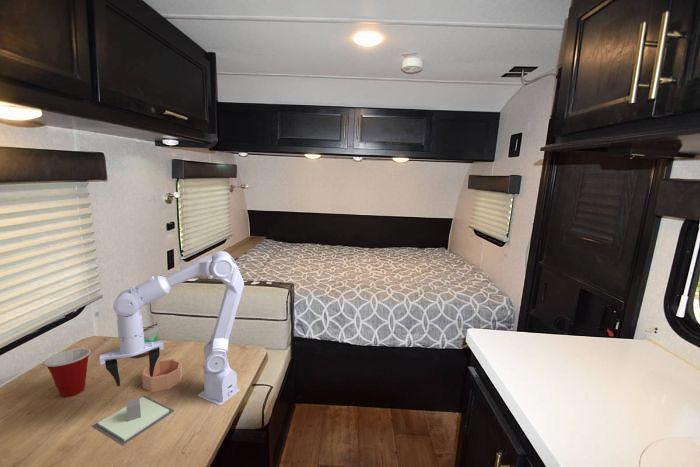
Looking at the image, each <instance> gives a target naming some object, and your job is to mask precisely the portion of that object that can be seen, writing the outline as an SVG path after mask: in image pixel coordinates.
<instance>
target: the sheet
mask: <svg viewBox="0 0 700 467" xmlns="http://www.w3.org/2000/svg"><path fill="white" fill-rule="evenodd" d="M141 397H142V398H141ZM141 397H138V398H135V399H131V400H127V401H126V405H125V406H126V407H125V406H123V407H121V410H120V409H119V411H118V410H117V411H115V412H114V414H113V413H112V415H111V414H110V415H108V416H106V417H107V418H106V417H104V418H105V419H104V418H102V419H101V420H100V422H99V421H98V425H99V426H100V427H102V428H104V429H105V430H107V431H109V432H110V433H112V434H114V435H115V436H117V437H118V438H120V439H122V440H123V441H126V440H127V439H129V438H130V437H132V436H133V435H135V434H136V433H138V432H139V431H141V430H142V429H144V428H145V427H147V426H148V425H150V424H151V423H153V422H154V421H156V420H157V419H159V418H160V417H162V416H163V415H165V414H167V413H168V412H169V410H168V409H166V408H164V407H162V406H160V405H158V404H156V403H154V402H152V401H150V400H148V399H146V398H144V397H143V396H141Z"/></svg>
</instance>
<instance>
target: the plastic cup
mask: <svg viewBox="0 0 700 467" xmlns="http://www.w3.org/2000/svg"><path fill="white" fill-rule="evenodd" d="M91 352H92V351H91V349H90V348H84V347H82V348H74V349H69V350H65V351H63V352H60V353H57V354H54V355H52V356H50V357H48V358H47V359H46V360H44V362H43V365H44V366H46V367H47V369H48V371H49V373H50V374H51V377H52V379H53V382H54V385H55V387H56V388H57V390H58V394H59V395H60V396H61V397H62V398H69V397H73V396H77V395H78V394H80V393H82V392H83V391H84V390H85V388H86V379H87V372H88V363H89V357H90V354H91Z"/></svg>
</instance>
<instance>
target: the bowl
mask: <svg viewBox="0 0 700 467" xmlns="http://www.w3.org/2000/svg"><path fill="white" fill-rule="evenodd" d="M183 374H184V373H183V362H182V361H180V360H178V359H176V358H167V359H166V358H165V359H160V360H159V359H158V360H157V362H156V364H155V368H154V372H153V376H152V377H150V372H149V364H148V365H146V366H145V367H144V368H143V372H142V373H141V379H142V380H141V382H142V388H143V389H145V390H147V391H148V392H153V393H154V392H159V391H165V390H169V389H171V388H173V387H174V386H177V385H178V384H180V383H181V382H182V378H183Z"/></svg>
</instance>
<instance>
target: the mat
mask: <svg viewBox="0 0 700 467" xmlns="http://www.w3.org/2000/svg"><path fill="white" fill-rule="evenodd" d="M142 397H144V398H146V399H148V400H150V401H152V402H154V403H156V404H158V405H160V406H162V407H164V408H166V409H168V410H169V412H168V413H167V414H165V415H163V416H162V417H160V418H159V419H157V420H156V421H154V422H153V423H151V424H150V425H148V426H147V427H145V428H144V429H142V430H141V431H139V432H138V433H136V434H135V435H133V436H132V437H130V438H129V439H127V440H126V441H123V440H122V439H120V438H118V437H117V436H115V435H114V434H112V433H110V432H109V431H107V430H105V429H104V428H102V427H100V426H99V425H98V422H100V421H101V420H100V421H98V422H96V423H94V424H92V425H91V428H93V429H95V430H97V431H98V432H100V433H102V434H103V435H104V436H106V437H108V438H109V439H111V440H113V441H115V442H116V443H117V444H119V445H121V446H125V445H126V444H127V443H129V442H131V441H132V440H133V439H135V438H136V437H138V436H140V435H141V434H142V433H144V432H145V431H147V430H148V429H150V428H151V427H153V426H155V425H156V424H157V423H159V422H161V421H162V420H163V419H165V418H166V417H169V415H171V414H173V413H174V412H175V410H174V409H172V408H170V407H168V406H166V405H164V404H162V403H161V402H158V401H156V400H153V399H152V398H150V397H148V396H145V395H143V396H141V397H140V398H142ZM124 407H126V405H125V406H124ZM121 409H122V408H121ZM121 409H119V410H121ZM119 410H117V411H119ZM114 413H115V412H114ZM114 413H112V414H114ZM112 414H110V415H112ZM107 417H108V416H106V417H104V418H103V419H105V418H107Z"/></svg>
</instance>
